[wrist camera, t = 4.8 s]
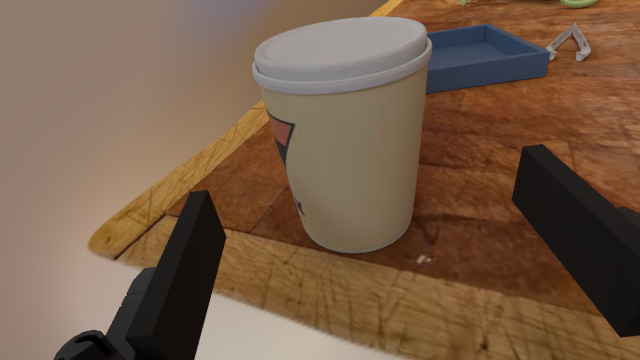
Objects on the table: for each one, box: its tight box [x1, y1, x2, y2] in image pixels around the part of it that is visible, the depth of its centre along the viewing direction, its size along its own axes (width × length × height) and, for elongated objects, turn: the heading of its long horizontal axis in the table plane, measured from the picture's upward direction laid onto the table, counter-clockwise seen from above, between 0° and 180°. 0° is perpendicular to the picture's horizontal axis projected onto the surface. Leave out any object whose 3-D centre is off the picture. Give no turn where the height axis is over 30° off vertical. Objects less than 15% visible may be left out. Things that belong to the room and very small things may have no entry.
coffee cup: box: [252, 17, 432, 253], centre depth 22 cm, size 9×9×12 cm
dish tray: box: [425, 23, 551, 94], centre depth 46 cm, size 16×16×3 cm
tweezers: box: [545, 22, 591, 61], centre depth 48 cm, size 17×5×2 cm, turn 147°
